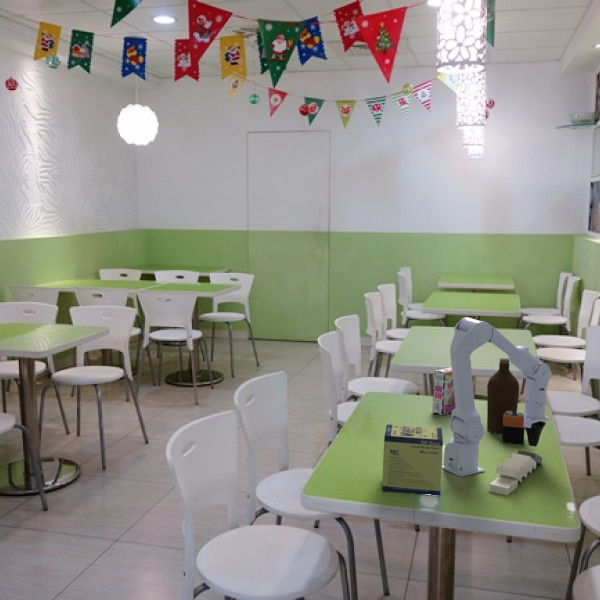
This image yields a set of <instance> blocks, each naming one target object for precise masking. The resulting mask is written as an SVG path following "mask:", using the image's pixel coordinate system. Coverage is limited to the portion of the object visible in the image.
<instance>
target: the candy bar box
mask: <svg viewBox="0 0 600 600" xmlns="http://www.w3.org/2000/svg"><path fill="white" fill-rule="evenodd" d="M433 375H434V376H433V377H434V379H433V395H432V412H434V413H433V414H435V413H438V414H441V415H440V416H445V415H444V414H446V415H448V414H447V413H449V414H451V413H450V412H452V410H454V409H455V408H456V406H455V396H454V386H453V376H452V366H450V367H447V368H441V369H437V370H434V374H433ZM438 414H437V415H438Z"/></svg>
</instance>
